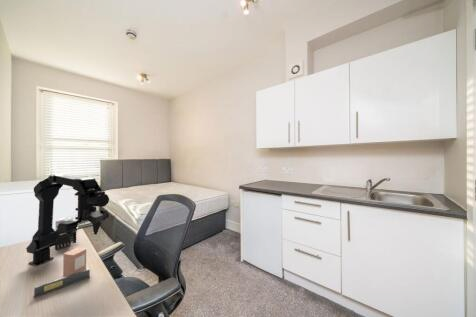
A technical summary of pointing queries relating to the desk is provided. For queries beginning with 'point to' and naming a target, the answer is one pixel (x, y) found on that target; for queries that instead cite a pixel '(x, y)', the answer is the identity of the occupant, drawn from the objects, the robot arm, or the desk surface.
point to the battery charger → (62, 240)
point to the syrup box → (63, 220)
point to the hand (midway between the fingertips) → (85, 238)
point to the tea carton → (74, 261)
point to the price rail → (61, 283)
